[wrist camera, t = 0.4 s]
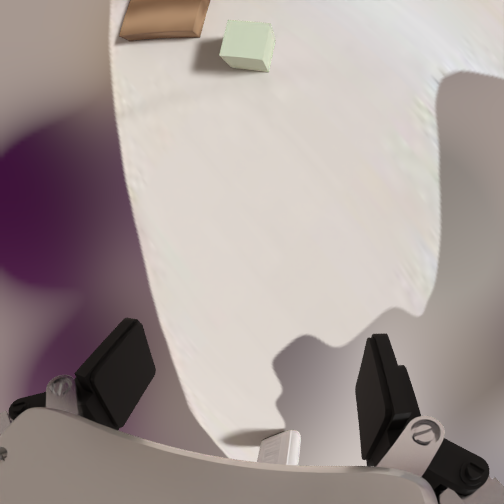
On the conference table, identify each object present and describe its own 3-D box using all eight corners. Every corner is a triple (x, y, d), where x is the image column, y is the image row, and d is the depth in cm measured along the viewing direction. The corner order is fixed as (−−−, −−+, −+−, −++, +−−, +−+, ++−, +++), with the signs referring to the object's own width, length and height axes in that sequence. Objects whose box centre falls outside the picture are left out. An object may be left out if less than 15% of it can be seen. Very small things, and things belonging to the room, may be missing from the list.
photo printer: (271, 447, 58) (263, 488, 47) (258, 440, 57) (249, 482, 46) (304, 434, 54) (300, 479, 43) (291, 426, 54) (286, 473, 42)
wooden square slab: (148, -18, 28) (140, -25, 25) (218, -25, 27) (212, -34, 24) (129, 40, 32) (118, 36, 29) (199, 37, 31) (192, 30, 28)
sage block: (238, 36, 31) (227, 20, 25) (275, 40, 30) (270, 23, 25) (231, 67, 32) (219, 55, 27) (268, 72, 32) (262, 59, 26)
